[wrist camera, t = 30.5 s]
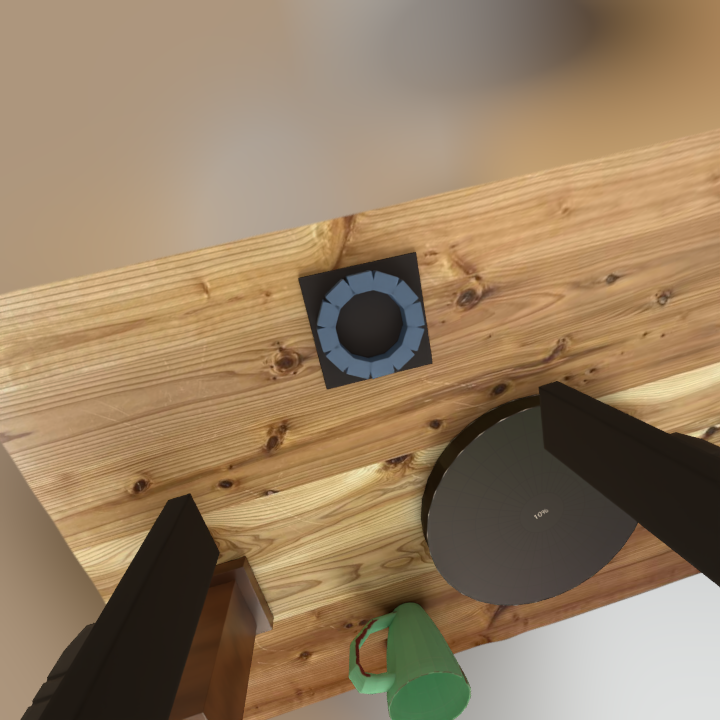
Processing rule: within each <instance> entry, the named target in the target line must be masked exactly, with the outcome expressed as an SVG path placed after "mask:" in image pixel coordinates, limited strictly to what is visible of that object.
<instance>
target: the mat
mask: <svg viewBox="0 0 720 720" xmlns="http://www.w3.org/2000/svg"><path fill="white" fill-rule="evenodd" d="M367 270H369V271H372V272H373V271H379V272H382V273H386V274H389V275H392V276H395V277H398V278H399V280H403V281H404V282H405V283H406V284H407V285H408V286H409V287H410V289H411V290H412V291H413V292H414V293H415V294H416V295H417V296H418V299H417V300H416V301H419V302H421V307H422V312H423V317H424V323H425V325H422V326H420V327H422V328H424V332H423V335H422V338H421V341H420V344H419V347H418V350H417V351H414V350H411V349H410V350H411V351H412V352H413V353H414V356H413V357H412V358H411V359H410V360H409V361H408V362H407V363H406V364H404V365H403V366H402V367H401V368H400V369H399V370H397V369H396V368H395V367H394V366H393V368H394V373H396V372H400V371H404V370H408V369H412V368H416V367H420V366H424V365H428V364H432V356H431V350H430V343H429V336H428V330H427V323H426V316H425V310H424V303H423V296H422V290H421V283H420V276H419V270H418V263H417V256H416V252H413V253H409V254H404V255H400V256H395V257H391V258H386V259H382V260H377V261H373V262H368V263H364V264H359V265H355V266H350V267H346V268H341V269H336V270H332V271H327V272H323V273H318V274H314V275H309V276H305V277H300V278H299V283H300V287H301V291H302V295H303V298H304V302H305V306H306V310H307V314H308V318H309V322H310V326H311V330H312V333H313V337H314V341H315V345H316V349H317V353H318V357H319V361H320V365H321V368H322V372H323V376H324V380H325V384H326V388H327V389H331V388H335V387H339V386H343V385H347V384H351V383H355V382H359V381H363V380H367V379H366V378H362V377H357V376H353V375H349V374H346V371H345V370H344V371H343V372H342V371H341V370H340V369H339V368H338V367H337V366H336V365H335V364H333V363H332V362H331V361H330V360H329V359H328V358H327V357H326V354H325V352H323V349H322V346H321V342H320V339H319V335H318V332H317V326H318V325H317V319H318V315H319V311H320V307H321V303H322V300H326V301H328V300H327V299H326V298H325V295H326V294H327V293H328V292H329V291H330V290H331V289H332V288H333V287H334V286H335V285H336V284H337V283H338V282H339V281H340V280H341V279H343V280H344V281H345V282H346V283H347V281H346V276H348V275H352V274H356V273H360V272H364V271H367ZM402 326H403V321H402V316H401V311H400V307H399V306H398V305H397V304H396V302H395V301H394V300H393V299H392V298H391V297H390V296H389V295H388V294H385V293H382V292H378V291H375V290H371V291H367V292H363V293H360V294H356V295H354V296H353V297H352V298H351V299H350V300H349V301H348V302H347V303H346V304H345V305H344V306H343V307H342V308H341V309H340V312H339V316H338V320H337V323H336V327H335V328H336V331H337V335H338V339H339V342H340V343H341V344H342V345H343V346H344V347H345V348H346V349H347V350H348V351H349V352H350V353H351V354H354V355H358V356H363V357H367V358H370V357H373V356H377V355H381V354H384V353H386V352H387V351H388V350H389V349H390V348H391V347H392V346H393V345H394V344H395V343H396V342H397V341H398V339H399V336H400V332H401V329H402ZM371 378H372V377H371V375H369V379H371Z"/></svg>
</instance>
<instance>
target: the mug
mask: <svg viewBox="0 0 720 720" xmlns="http://www.w3.org/2000/svg"><path fill="white" fill-rule="evenodd" d="M387 627H389V632H388V643H387V672H386V673H381V674H372V673H366V672H364V670H363V668H362V667H361V665H360V663H359V649H360V647H361V646H362V644H363V643H364V642H365V640H366V639H367V637H368V636H369V634H371V633H373V632H376V631H379V630H382V629H384V628H387ZM349 678H350V680H351V681H352V683H353V684H354V686H355V687H356V689H357V690H358V692H359V693H366V694H376V693H381V692H387V702H388V711H389V717H390V718H391V720H454V719H455V718H457V717H458V716H459V715H460V714H461V713H462V712H463V710H464V709H465V708H466V707H467V705H468V702H469V700H470V697H471V687H470V685H469V682H468V680H467V678H466V676H465V674H464V672H463V671H462V669H461V667H460V665H459V664H458V662H457V660H456V659H455V657H454V655H453V653H452V651H451V650H450V648H449V646H448V644H447V642H446V641H445V639H444V637H443V636H442V634H441V633H440V631H439V630H438V628H437V627H436V625H435V624H434V622H433V621H432V619H431V618H430V617H429V616H428V614H427V613H426V612H425V611H424V609H423V608H422V607H421V606H420V605H419V604H416V603H410V602H409V603H404V604H402V605H399V606H398V607H397V608H395V609H394V611H393V612H392V613H389V614H386V615H383V616H380V617H377V618H373V619H371V620H370V621H369V622H368V623H367V624H366V626H365V627H364V628H363V629H362V630H361V631H360V633H359V634H358V635H357V636H356V637H355V639H354V640H353V641H352V643H351V645H350V658H349Z"/></svg>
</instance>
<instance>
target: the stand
mask: <svg viewBox="0 0 720 720" xmlns="http://www.w3.org/2000/svg"><path fill="white" fill-rule="evenodd" d="M272 627H273V616H272V614H271V612H270V609H269V607H268V605H267V603H266V601H265V598H264V596H263V594H262V592H261V590H260V587H259V585H258V583H257V581H256V578H255V576H254V574H253V572H252V570H251V567H250V565H249V563H248V561H247V559H246V557H242V558H239V559H236V560H233V561H229V562H226V563H223V564H220V565H216V566H215V570H214V573H213V576H212V579H211V583H210V586H209V589H208V592H207V596H206V599H205V602H204V606H203V609H202V612H201V615H200V619H199V622H198V625H197V628H196V632H195V635H194V638H193V641H192V645H191V648H190V651H189V654H188V658H187V661H186V664H185V667H184V671H183V674H182V677H181V680H180V684H179V687H178V690H177V694H176V697H175V700H174V703H173V707H172V710H171V713H170V716H169V720H242V719H243V713H244V706H245V700H246V693H247V687H248V680H249V674H250V667H251V661H252V654H253V648H254V641H255V635H257V634H260V633H263V632H266V631H269V630H272Z"/></svg>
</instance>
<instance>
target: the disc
mask: <svg viewBox="0 0 720 720" xmlns="http://www.w3.org/2000/svg"><path fill="white" fill-rule="evenodd" d="M421 521H422V527H423V533H424V537H425V540H426V542H427V544H428V547H429V550H430V555H431V557H432V559H433V561H434V564H435V566H436V568H437V570H438V572H439V573H440V574H441V575H442V576H443V578H444V579H445V580H446V581H447V583H448V584H449V585H451V586H452V587H453V588H455V589H456V590H457V591H459V592H460V593H461V594H463V595H465V596H468V597H470V598H472V599H475V600H477V601H480V602H485V603H490V604H494V605H522V604H529V603H536V602H539V601H542V600H546V599H549V598H552V597H556V596H558V595H560V594H562V593H564V592H566V591H568V590H571V589H573V588H575V587H576V586H578V585H580V584H581V583H583V582H584V581H586V580H587V579H589V578H591V577H592V576H593V575H595V574H596V573H597V572H598V571H599V570H601V569H602V568H603V567H604V566H605V565H607V564H608V563H609V562H610V561H611V560H612V559H613V557H614V556H615V555H616V554H617V553H618V552H619V551H620V550H621V549H622V547H623V546H624V545H625V543H626V542H627V540H628V539H629V537H630V536H631V534H632V533H633V531H634V530H635V528H636V526H637V524H638V522H637V521H635V520H634V519H633V518H632V517H630V516H629V515H628V514H627V513H625V512H624V511H623V510H621V509H620V508H619V507H618V506H616V505H615V504H614V503H613V502H611V501H610V500H609V499H607V498H606V497H605V496H604V495H602V494H601V493H600V492H599V491H597V490H596V489H595V488H594V487H592V486H591V485H590V484H588V483H587V482H586V481H585V480H583V479H582V478H581V477H580V476H578V475H577V474H576V473H574V472H573V471H572V470H571V469H569V468H568V467H567V466H566V465H564V464H563V463H562V462H560V461H559V460H558V459H557V458H555V457H554V456H553V455H552V454H550V453H549V452H548V451H547V450H545V449H544V441H543V430H542V419H541V408H540V397H539V395H532V396H528V397H524V398H520V399H516V400H512V401H510V402H508V403H506V404H503V405H501V406H499V407H496V408H494V409H492V410H490V411H489V412H487V413H485V414H484V415H482V416H481V417H479V418H478V419H476V420H475V421H473V422H472V423H470V424H469V425H468V426H467V427H466V428H465V429H464V430H463V431H462V432H461V433H460V434H459V435H457V436H456V437H455V438H454V439H453V440H452V441H451V443H450V444H449V445H448V447H447V448H446V449H445V451H444V452H443V453H442V455H441V456H440V457H439V459H438V460H437V462H436V464H435V466H434V468H433V470H432V472H431V474H430V476H429V478H428V481H427V485H426V488H425V492H424V495H423V499H422V512H421Z"/></svg>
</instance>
